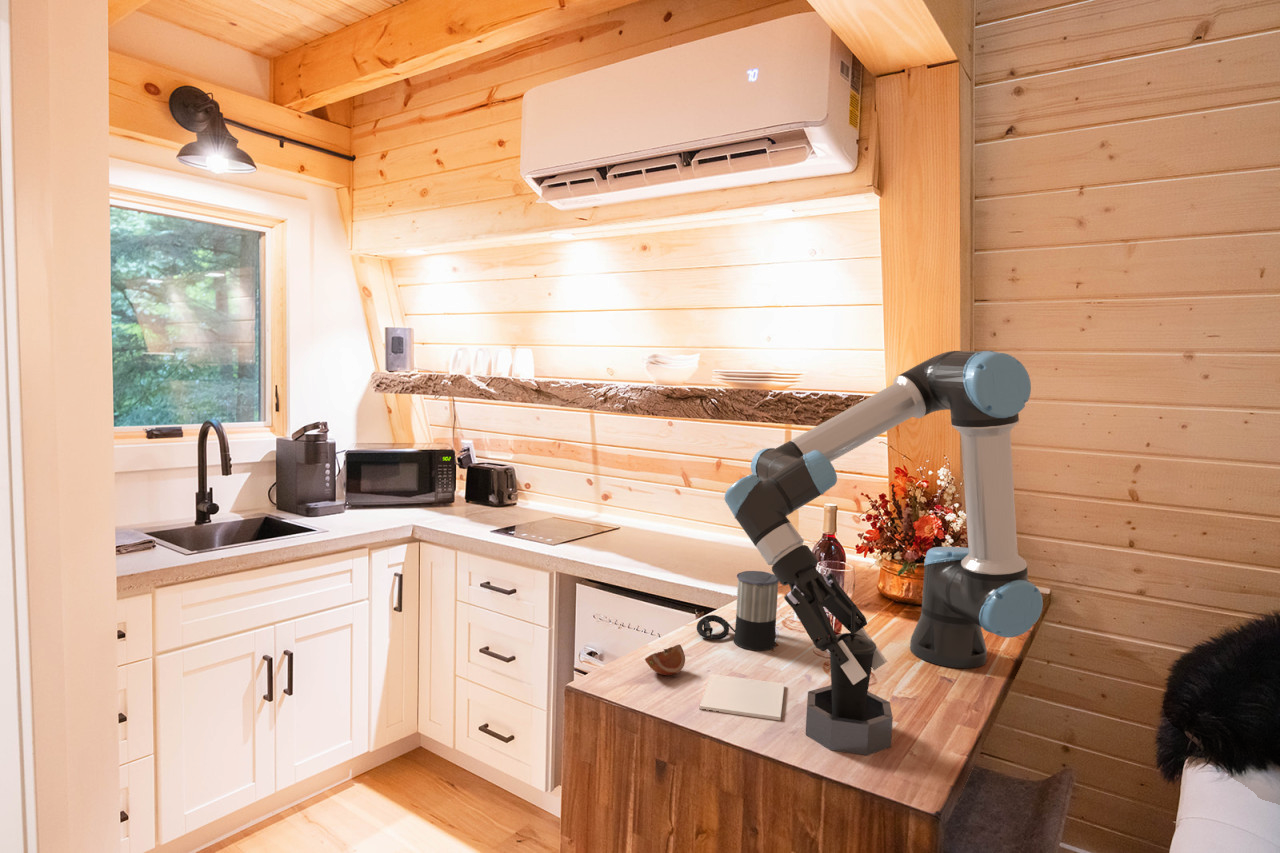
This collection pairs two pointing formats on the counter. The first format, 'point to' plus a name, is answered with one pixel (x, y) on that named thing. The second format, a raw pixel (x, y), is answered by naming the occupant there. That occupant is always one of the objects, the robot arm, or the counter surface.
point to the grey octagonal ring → (849, 724)
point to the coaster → (743, 697)
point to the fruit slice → (667, 660)
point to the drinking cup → (845, 694)
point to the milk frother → (750, 613)
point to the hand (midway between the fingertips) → (870, 672)
